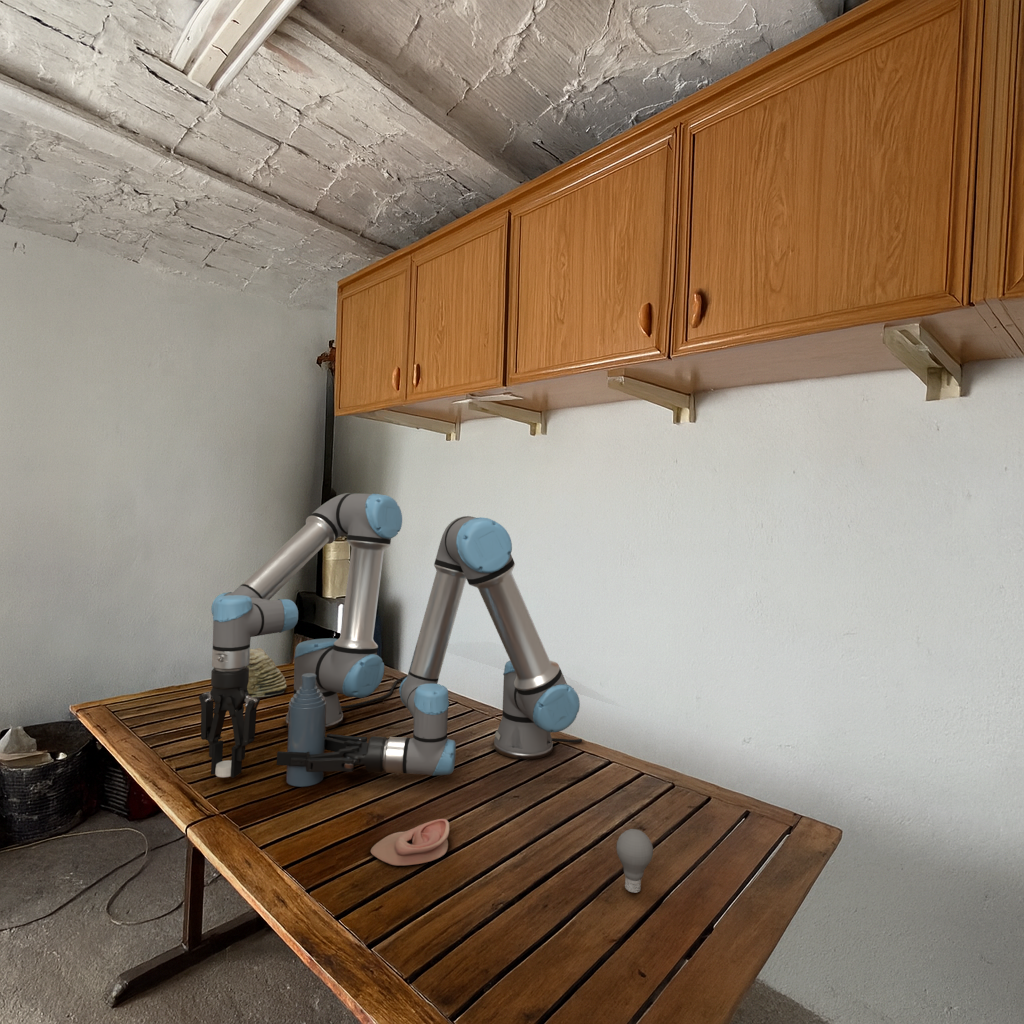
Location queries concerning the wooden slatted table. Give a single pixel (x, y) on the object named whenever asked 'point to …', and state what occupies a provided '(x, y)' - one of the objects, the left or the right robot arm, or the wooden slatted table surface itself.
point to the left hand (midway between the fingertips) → (226, 773)
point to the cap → (223, 769)
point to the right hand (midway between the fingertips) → (284, 750)
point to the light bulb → (634, 857)
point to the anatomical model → (414, 844)
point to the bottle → (306, 729)
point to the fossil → (264, 675)
